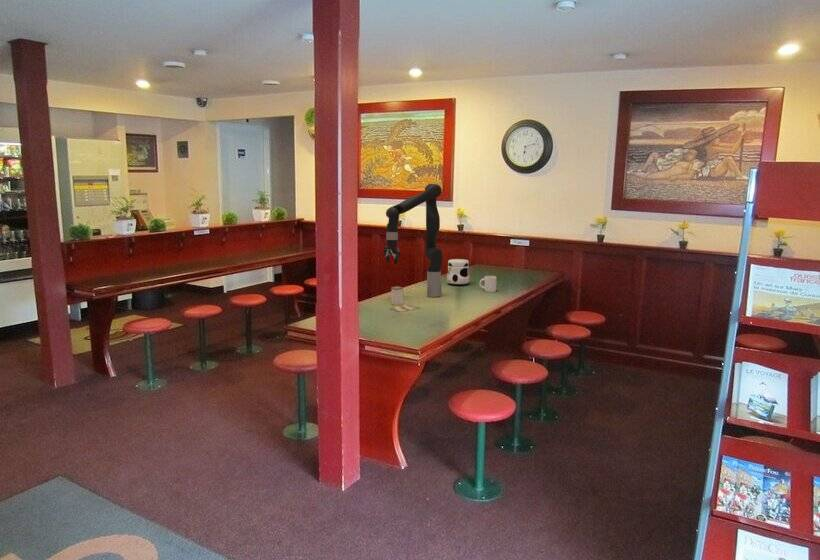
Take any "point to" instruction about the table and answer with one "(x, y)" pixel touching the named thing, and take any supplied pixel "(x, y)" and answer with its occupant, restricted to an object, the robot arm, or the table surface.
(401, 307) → the mat
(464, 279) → the milk container
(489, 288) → the mug
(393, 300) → the canister
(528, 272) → the table surface
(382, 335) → the table surface
